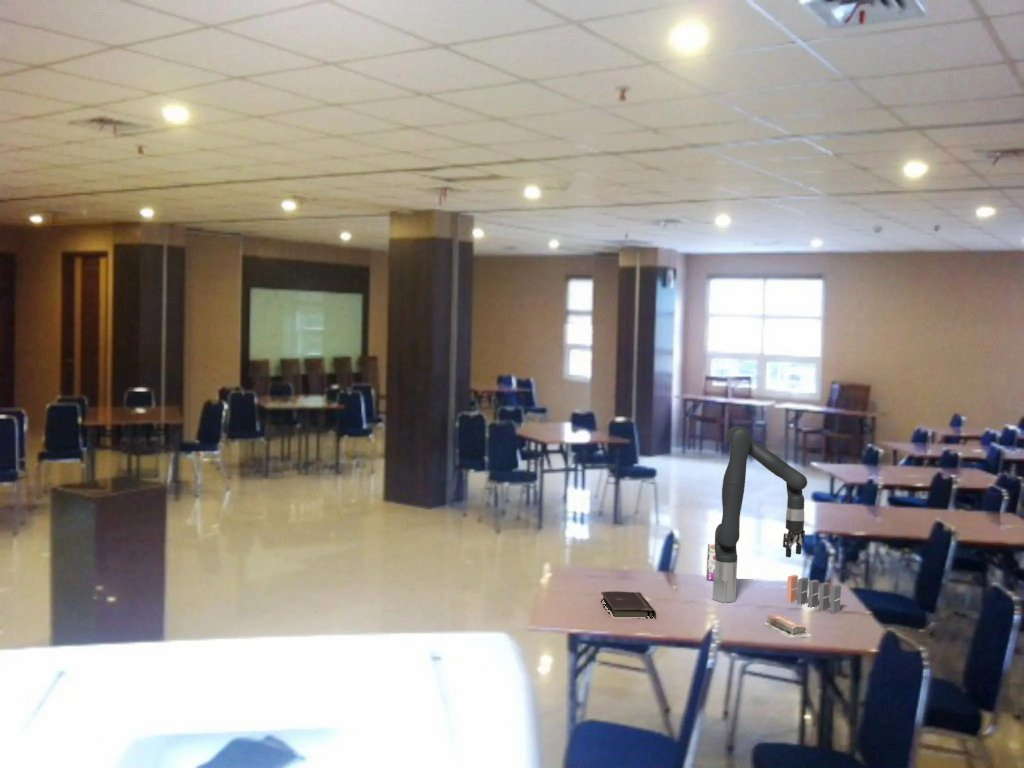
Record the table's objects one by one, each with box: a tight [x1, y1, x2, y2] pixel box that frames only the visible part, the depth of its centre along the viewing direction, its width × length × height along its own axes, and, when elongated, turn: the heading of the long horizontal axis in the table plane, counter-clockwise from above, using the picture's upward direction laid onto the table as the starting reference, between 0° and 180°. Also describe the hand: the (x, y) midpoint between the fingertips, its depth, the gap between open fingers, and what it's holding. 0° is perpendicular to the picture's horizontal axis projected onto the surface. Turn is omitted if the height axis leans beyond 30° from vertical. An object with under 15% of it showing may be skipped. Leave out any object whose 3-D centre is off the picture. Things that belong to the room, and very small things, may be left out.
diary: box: [600, 590, 657, 619], centre depth 392 cm, size 19×25×5 cm
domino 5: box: [829, 584, 842, 614], centre depth 396 cm, size 2×5×11 cm, turn 133°
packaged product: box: [763, 613, 813, 639], centre depth 369 cm, size 18×5×10 cm
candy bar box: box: [705, 543, 715, 582], centre depth 441 cm, size 11×5×16 cm, turn 84°
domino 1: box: [786, 574, 799, 603], centre depth 410 cm, size 2×5×11 cm, turn 133°
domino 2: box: [796, 576, 809, 606], centre depth 406 cm, size 2×5×11 cm, turn 134°
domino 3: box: [807, 579, 820, 609], centre depth 403 cm, size 2×5×11 cm, turn 134°
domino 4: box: [818, 581, 831, 612], centre depth 399 cm, size 2×5×11 cm, turn 134°
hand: (793, 555), depth 409 cm, fingers open, 8 cm apart
